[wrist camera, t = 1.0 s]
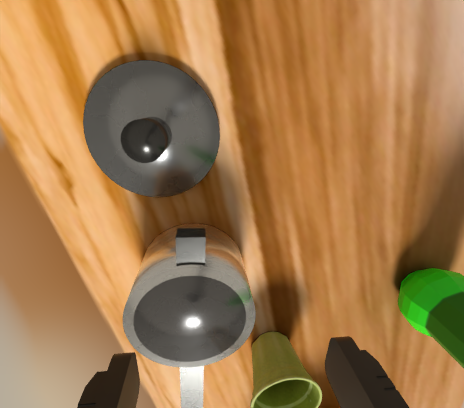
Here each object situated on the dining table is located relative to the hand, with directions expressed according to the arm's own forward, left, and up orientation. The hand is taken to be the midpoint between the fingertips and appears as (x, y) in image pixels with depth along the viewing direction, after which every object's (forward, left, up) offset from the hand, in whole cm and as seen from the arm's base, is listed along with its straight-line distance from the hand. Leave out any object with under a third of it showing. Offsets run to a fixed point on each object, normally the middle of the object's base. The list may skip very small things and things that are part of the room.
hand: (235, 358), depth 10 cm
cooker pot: (+14, -2, -21) cm, 25 cm away
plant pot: (+25, +10, -21) cm, 35 cm away
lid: (-7, -6, -22) cm, 23 cm away
